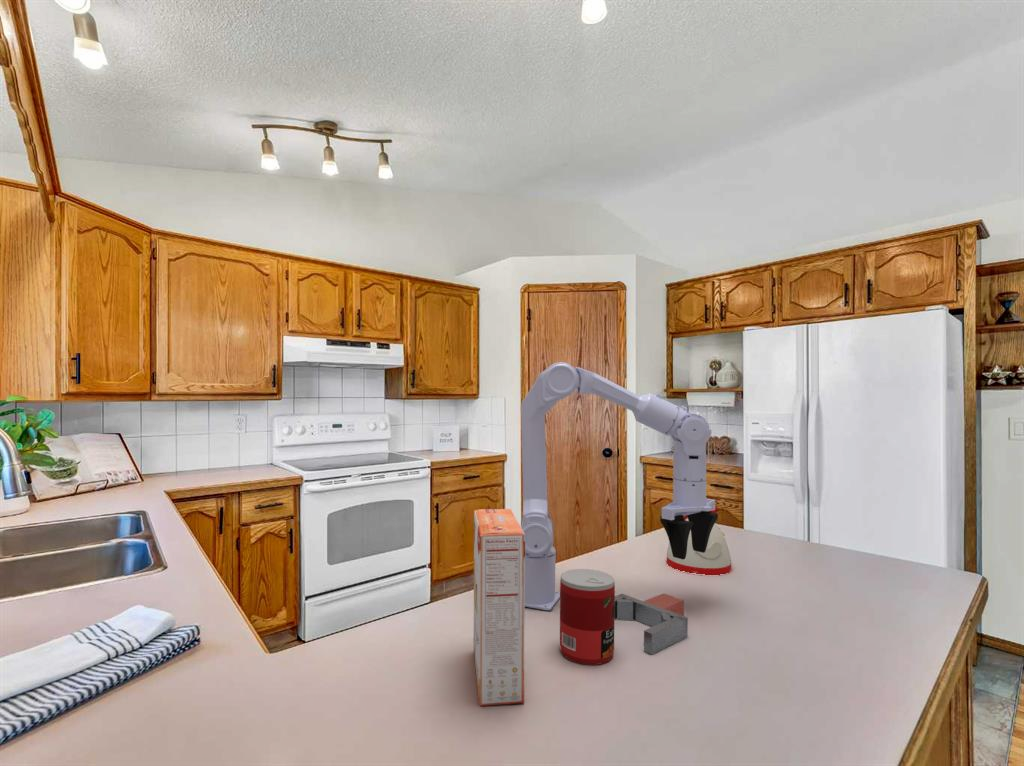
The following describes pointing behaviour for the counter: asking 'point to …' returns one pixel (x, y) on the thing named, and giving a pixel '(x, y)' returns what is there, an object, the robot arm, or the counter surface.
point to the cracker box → (499, 606)
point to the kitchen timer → (704, 555)
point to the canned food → (587, 616)
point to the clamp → (655, 619)
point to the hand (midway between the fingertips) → (689, 554)
